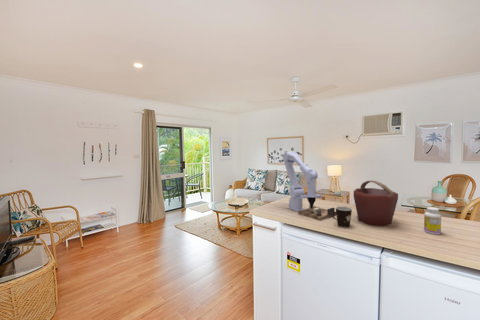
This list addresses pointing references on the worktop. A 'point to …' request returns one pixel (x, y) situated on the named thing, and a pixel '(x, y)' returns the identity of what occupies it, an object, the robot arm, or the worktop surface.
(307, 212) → the stool seat
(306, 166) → the robot arm
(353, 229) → the worktop surface
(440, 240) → the worktop surface
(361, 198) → the bucket
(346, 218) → the coffee mug
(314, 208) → the folding leg
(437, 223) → the supplement bottle
